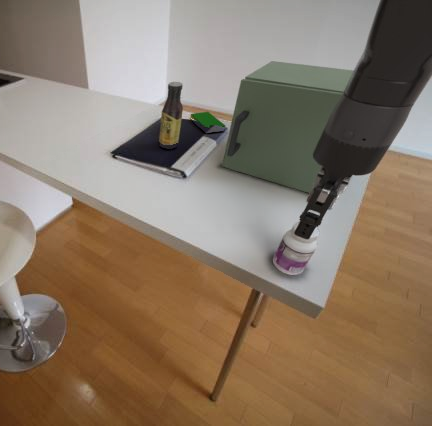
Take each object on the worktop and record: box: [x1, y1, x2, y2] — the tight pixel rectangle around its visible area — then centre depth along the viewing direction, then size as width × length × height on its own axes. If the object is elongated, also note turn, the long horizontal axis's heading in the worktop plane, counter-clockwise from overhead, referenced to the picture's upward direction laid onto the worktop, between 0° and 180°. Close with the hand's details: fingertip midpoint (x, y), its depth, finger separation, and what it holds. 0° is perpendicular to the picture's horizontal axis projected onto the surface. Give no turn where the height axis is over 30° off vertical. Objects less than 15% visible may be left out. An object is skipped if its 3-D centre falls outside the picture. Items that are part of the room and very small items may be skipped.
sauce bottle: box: [158, 81, 184, 145], centre depth 88 cm, size 6×6×20 cm
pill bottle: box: [272, 221, 321, 276], centre depth 52 cm, size 5×5×10 cm
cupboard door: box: [221, 78, 343, 194], centre depth 68 cm, size 7×26×24 cm, turn 51°
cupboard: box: [244, 60, 354, 93], centre depth 75 cm, size 18×26×24 cm
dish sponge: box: [189, 111, 226, 128], centre depth 105 cm, size 7×14×2 cm, turn 12°
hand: (308, 222), depth 48 cm, fingers open, 8 cm apart
